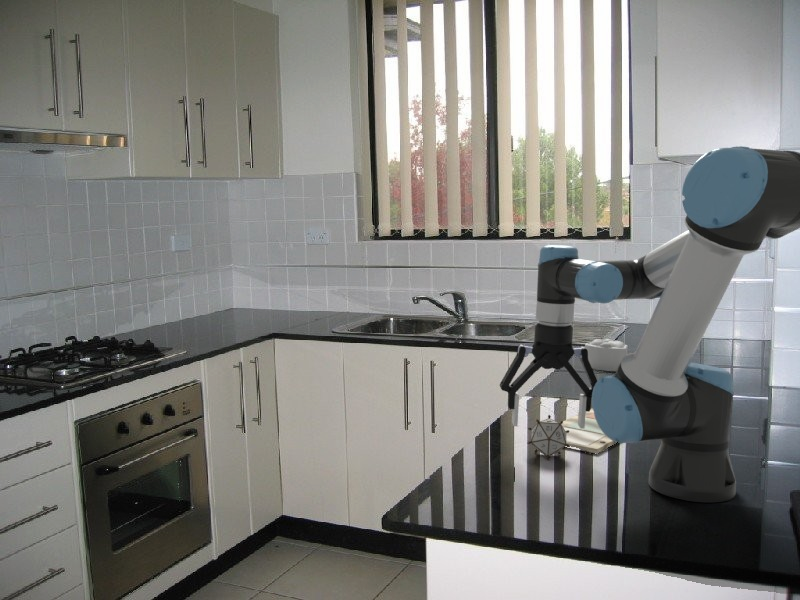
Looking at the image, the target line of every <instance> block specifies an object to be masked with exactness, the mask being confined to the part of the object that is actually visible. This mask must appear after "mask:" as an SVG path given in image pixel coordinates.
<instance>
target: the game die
mask: <svg viewBox="0 0 800 600" xmlns="http://www.w3.org/2000/svg"><path fill="white" fill-rule="evenodd" d="M551 417H552V416H551V415H550V414H548V415H547V418H546V419H543V420H541V421H540V420H539V419H536V420H535V421H536V424H535V425H534V426H533V427H532V428H531V427H527V428H528V430H529V431H530V440H529V441H528V442H526V443H527V445H532V446H533V447H534V449H535V450H534V454H536V453H538V452H539V453H541V454H542V455H544V456H546V460H547V461H549V460H550V457H551V456H553V455H556V454H558V455H559V454H561V455H562V452H561V451H562V450H563V449H565V448H564V447H565V446H567V447H570V446H569V445H568V444H566V433H569V430H567V431H565V429H564V428H563V426H562V425H561V424H562V423H563V421H564V420H561V421H560V422H558V421H556V420H554V419H552V418H551Z"/></svg>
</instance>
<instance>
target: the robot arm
mask: <svg viewBox="0 0 800 600" xmlns="http://www.w3.org/2000/svg"><path fill="white" fill-rule="evenodd" d="M681 195H682V196H683V197H684V199H683V200H682V201H681V202H682V208H683V210H684V212H685V214H686V215H685V218H684V224H685V226H686V228H687V230H685V231H684V232H683V233H681V234H679V235H677V236H675V237H674V238H672V239H670V240H669V241H667V242H665V243H663V244H661V245H660V246H658V247H656V248H655V249H653V250H651V251H650V252H648V253H646V254H644V255H642V256H641V257H639V258H637V259H630V260H629V259H628V260H626V259H623V260H622V259H621V260H590V259H589V260H588V259H581V258H579V250H578V249H577V248H576V247H575V246H571V245H557V244H556V245H555V244H554V245H553V244H551V245H550V244H549V245H548V244H547V245H544V246H542V247H541V249H540V251H539V259H538V263H537V267H538V269H537V287H536V289H537V291H536V305H535V308H536V309H535V320H536V321H537V322H536V323H535V324H534V337H533V339H534V340H533V345H532V346H528V345H524V344H523V343H522V344H521V343H520V344H518V345H517V346H518V347H517V350H516V355H515V357H514V359H513V360H512V362H511V364H510V366H509V367H508V369H507V371H506V372H505V374H504V376H503V377H502V380H501V382H500V383H499V387H500V390H501V391H503V392H507V394H508V395H507V407H508V410H511V411H512V412H511V416H512V417H511V424H512V426H513V427H518V423H519V422H518V421H519V405H520V394H519V393H518V391H519V390H520V389H521V388H522V386H523V385H525V383H526V382H527V381H528V380H529V379H530V378H532V376H533V375H534V374H535V373H536V372H538V371H539V370H540V369H541V368H543V369H545V370H549V369H553V370H561V369H563V368H565V370H566V371H567V372H568V374H569V375H570V376H571V378H572V379H573V380H574V382H575V383H576V384H577V385H578V386H579V388H580V389H581V391H582V392H583V393H579V400H578V401H579V402H578V403H579V404H578V405H579V406H578V414H577V415H578V425H579V427H580V428H585V414H586V411H587V412H590V410H591V408H593V411H594V416H595V419H596V421H597V423H598V425H599V427H600V429H601V430H602V432H603V433H604V434H605V435H606V436H607V437H608V438H610V439H611V440H613V441H615V442H618V443H617V444H619V443H620V444H638V443H642V442H648V441H649V442H650V441H656V440H657V441H658V440H661V441H660V445H659V448H658V450H657V453H656V454H655V457H654V459H653V462H652V464H651V467H650V468H649V472H648V486H649V487H650V488H651V489H652V490H654V491H655V492H657V493H660V494H661V495H664V496H667V497H670V498H674V499H678V500H682V501H686V502H688V501H689V502H695V503H720V502H721V503H722V502H727V501H730V500H733V498H735V496H736V492H737V479H736V477H735V473H734V469H733V464H732V462H731V457H730V455H729V454H730V453H729V447H730V445H729V444H730V437H731V435H730V434H731V423H732V412H733V411H732V409H733V402H734V401H733V399H734V396H735V393H734V378H733V376H732V374H731V373H730V371H728V370H726V369H724V368H720V367H717V366H716V367H715V366H712V365H707V364H704V363H703V364H702V363H696V362H691V360H692V359H693V357H694V355H695V353H696V352H697V350H698V347H699V345H700V342H701V341H702V339H703V337H704V335H705V333H706V331H707V328H708V327H709V325H710V323H711V322H712V319H713V318H714V315H715V313H716V311H717V309H718V308H719V306H720V304H721V301H722V300H723V297H724V295H725V293H726V291H727V289H728V287H729V285H730V283H731V282H732V279H733V278H734V275H735V274H736V272H737V269H738V267H739V265H740V264H741V261H742V260H743V258H744V256H745V255H748V254H751V253H755V252H757V251H758V250H759V249H760V247H761V245H762V243H763V241H764V239H767V238H768V239H771V240H777V239H781V238H783V237H785V236H786V235H789V234H791V233H794V232H795V231H797V230H799V229H800V152H798V151H794V150H777V149H765V148H764V149H763V148H752V147H751V148H750V147H749V146H741V145H740V146H731V147H719V148H716V149H713V150H711V151H708V152H706V153H705V154H703V155H702V156H701V157H699V158H698V159H697V160H696V161H695V162H694V163H693V165H692V166H691V167H690V168H689V170H688V171H687V173H686V176H685V178H684V181H683V185H682V190H681ZM576 299H578V300H583V301H586V302H589V303H592V304H597V303H598V304H609V303H611V302H613V301H614V300H654V299H658V302H657V303H656V306H655V308H654V311H653V312H652V315H651V317H650V319H649V321H648V323H647V326H646V328H645V330H644V333H643V335H642V337H641V339H640V341H639V343H638V346H637V348H636V350H635V351H634V352H633V351H632V352H629V353H627V355H625V356H624V357H623V358H622V360H621V363H620V365H619V367H618V369H617V371H615V373H614V374H613V375H611V374H608V375H605V376H603V377H601V378H599V379H597V376H596V374H595V372H594V369H592V367H591V365H590V363H589V360H588V350H587V349H586V348H585V346H579V347H575V348H574V347H573V337H574V335H573V334H574V325H572V323H573V322H574V319H575V318H574V317H575V303H576ZM529 354H532V355H533V357H534V359H533V360H532V361H531V362H530V363H529V364H528V366H527V367H526V368H525V369H524V370H523V371H522V372H521V373H520V374H519V376H517V377H516V378H515V376H516V374H517V373H518V370H519V369H520V367H521V365H522V363H523V362H524V359H525V358H527V357H528V356H529ZM574 355H575V356H576V358H577V359H579V361H580V363H581V365H582V367H583V370H584V372H585V375H586V377H587V379H588V382H589V384H590V386H591V387H589V386H588V384H586V382H585V381H584V380H583V378H581V376H580V375H579V374H578V372H577V371H576V369H574V367H573V365H572V364H571V363H570V362H569V361H570V360H571V359H572V358H573V356H574ZM514 378H515V380H513V379H514ZM512 381H513V382H512ZM591 406H592V407H591Z"/></svg>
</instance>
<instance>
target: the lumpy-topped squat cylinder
mask: <svg viewBox="0 0 800 600" xmlns="http://www.w3.org/2000/svg"><path fill="white" fill-rule="evenodd" d="M584 347H585V348H586V349H587V350H588V360H589V363H590V365H591V367H592V369H593V370H597V371H604V372H605V371H606V372H607V371H608V372H616V371H617V369H618V367H619V365H620V363H621V360H622V358H623V357H624V356H625V355H627V354H628V345H627V344H625V343H624V342H623V341H620V340H613V339H611V338H605V339H600V338H595V339H593V340H592V341H588V342H587V343H585V344H584Z"/></svg>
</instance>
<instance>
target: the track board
mask: <svg viewBox="0 0 800 600" xmlns="http://www.w3.org/2000/svg"><path fill="white" fill-rule="evenodd" d="M562 421H563V423H562V424H561V425H562V426H563V428H564V429H565V431H567V430H569V433H566V444H568V445H569V446H571V447H576V448H579V449H583V450H587V451H589V452H593V453H596V454H597V455H599V454H600V453H599V452H601V453H603V452H604V451H606V450H607V448H608V447H610V446H612V445H613V446H615V445H617V444H618V443H617V442H615V441H613V440H611V439H610V438H608V437H607V436H606V435H605V434H604V433H603V432H602V430H601V429H600V427H599V425H598V423H597V421H596V419H595V416H594V411H593V407H591V410H590V412H587V411H586V414H585V428H580V427H579V425H578V414H576V415H574V416H572V417H569V418H567V419H566V420H562ZM616 443H617V444H616ZM614 444H615V445H614ZM613 446H612V447H613ZM610 448H611V447H610ZM605 449H606V450H605ZM608 449H609V448H608ZM603 450H604V451H603ZM602 451H603V452H602ZM598 453H599V454H598Z"/></svg>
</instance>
